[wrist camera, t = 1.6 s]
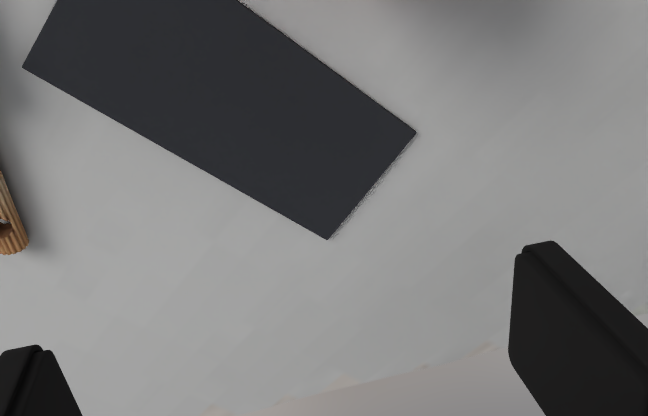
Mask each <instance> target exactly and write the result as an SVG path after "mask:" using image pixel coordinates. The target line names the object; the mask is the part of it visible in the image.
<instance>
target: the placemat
mask: <svg viewBox="0 0 648 416" xmlns="http://www.w3.org/2000/svg"><path fill="white" fill-rule="evenodd" d="M22 68H24V69H25V70H27V71H29V72H31V73H32V74H34V75H36V76H38V77H40V78H41V79H43V80H45V81H47V82H48V83H50V84H52V85H54V86H55V87H57V88H59V89H61V90H62V91H64V92H66V93H68V94H70V95H71V96H73V97H75V98H77V99H78V100H80V101H82V102H84V103H85V104H87V105H89V106H91V107H93V108H94V109H96V110H98V111H100V112H101V113H103V114H105V115H107V116H108V117H110V118H112V119H114V120H116V121H117V122H119V123H121V124H123V125H124V126H126V127H128V128H130V129H131V130H133V131H135V132H137V133H139V134H140V135H142V136H144V137H146V138H147V139H149V140H151V141H153V142H154V143H156V144H158V145H160V146H162V147H163V148H165V149H167V150H169V151H170V152H172V153H174V154H176V155H177V156H179V157H181V158H183V159H185V160H186V161H188V162H190V163H192V164H193V165H195V166H197V167H199V168H200V169H202V170H204V171H206V172H208V173H209V174H211V175H213V176H215V177H216V178H218V179H220V180H222V181H223V182H225V183H227V184H229V185H231V186H232V187H234V188H236V189H238V190H239V191H241V192H243V193H245V194H246V195H248V196H250V197H252V198H253V199H255V200H257V201H259V202H261V203H262V204H264V205H266V206H268V207H269V208H271V209H273V210H275V211H276V212H278V213H280V214H282V215H284V216H285V217H287V218H289V219H291V220H292V221H294V222H296V223H298V224H299V225H301V226H303V227H305V228H307V229H308V230H310V231H312V232H314V233H315V234H317V235H319V236H321V237H322V238H324V239H326V240H328V239H329V238H330V236H331V235H332V234H333V233H334V232H335V230H336V229H337V228H338V227H339V226H340V224H341V223H342V222H343V221H344V220H345V218H346V217H347V216H348V215H349V214H350V212H351V211H352V210H353V209H354V208H355V206H356V205H357V204H358V203H359V202H360V200H361V199H362V198H363V197H364V196H365V194H366V193H367V192H368V191H369V190H370V188H371V187H372V186H373V185H374V184H375V182H376V181H377V180H378V179H379V178H380V176H381V175H382V174H383V173H384V171H385V170H386V169H387V168H388V167H389V165H390V164H391V163H392V162H393V161H394V159H395V158H396V157H397V156H398V155H399V153H400V152H401V151H402V150H403V149H404V147H405V146H406V145H407V144H408V143H409V141H410V140H411V139H412V138H413V137H414V135H415V134H416V131H415V130H414V129H412V128H411V127H409V126H408V125H407V124H405V123H404V122H403V121H401V120H400V119H399V118H397V117H396V116H394V115H393V114H392V113H390V112H389V111H388V110H386V109H385V108H384V107H382V106H381V105H379V104H378V103H377V102H375V101H374V100H373V99H371V98H370V97H369V96H367V95H366V94H364V93H363V92H362V91H360V90H359V89H358V88H356V87H355V86H354V85H352V84H351V83H349V82H348V81H347V80H345V79H344V78H343V77H341V76H340V75H339V74H337V73H336V72H334V71H333V70H332V69H330V68H329V67H328V66H326V65H325V64H324V63H322V62H321V61H319V60H318V59H317V58H315V57H314V56H313V55H311V54H310V53H309V52H307V51H306V50H304V49H303V48H302V47H300V46H299V45H298V44H296V43H295V42H294V41H292V40H291V39H289V38H288V37H287V36H285V35H284V34H283V33H281V32H280V31H279V30H277V29H276V28H274V27H273V26H272V25H270V24H269V23H268V22H266V21H265V20H264V19H262V18H261V17H259V16H258V15H257V14H255V13H254V12H253V11H251V10H250V9H249V8H247V7H246V6H244V5H243V4H242V3H240V2H239V1H238V0H57V2H56V4H55V6H54V8H53V9H52V11H51V13H50V15H49V17H48V19H47V21H46V23H45V24H44V26H43V28H42V30H41V32H40V34H39V36H38V38H37V40H36V41H35V43H34V45H33V47H32V49H31V51H30V53H29V55H28V56H27V58H26V60H25V62H24V64H23V66H22Z"/></svg>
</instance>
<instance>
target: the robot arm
mask: <svg viewBox="0 0 648 416" xmlns="http://www.w3.org/2000/svg"><path fill="white" fill-rule="evenodd" d="M508 353H509V357H510V361H511V364H512V366H513V367H514V369H515V371H516V372H517V374H518V375H519V377H520V378H521V379H522V381H523V382H524V384H525V385H526V387H527V388H528V390H529V391H530V393H531V394H532V396H533V397H534V399H535V400H536V402H537V403H538V405H539V406H540V408H541V409H542V410H543V412H544V414H545V415H546V416H648V328H646V327H645V326H644V325H643V324H642V323H641V322H640V321H639V320H638V319H637V318H636V317H635V316H634V315H633V314H632V313H631V312H630V311H628V310H627V309H626V308H625V307H624V306H623V305H622V304H621V303H620V302H619V301H618V300H617V299H616V298H615V297H613V296H612V295H611V294H610V293H609V292H608V291H607V290H606V289H605V288H604V287H603V286H602V285H601V284H600V283H599V282H598V281H596V280H595V279H594V278H593V277H592V276H591V275H590V274H589V273H588V272H587V271H586V270H585V269H584V268H583V267H582V266H581V265H579V264H578V263H577V262H576V261H575V260H574V259H573V258H572V257H571V256H570V255H569V254H568V253H567V252H566V251H565V250H564V249H562V248H561V247H560V246H559V245H558V244H557V243H556V242H554V241H546V242H541V243H536V244H531V245H526V246H525V247H524V248H523V249H522V253H521V254H518V255H517V256H516V257H515V265H514V278H513V292H512V305H511V319H510V333H509V346H508ZM0 416H82V414H81V412H80V409H79V407H78V405H77V403H76V401H75V399H74V397H73V394H72V392H71V390H70V388H69V386H68V384H67V382H66V379H65V377H64V375H63V373H62V371H61V369H60V367H59V364H58V362H57V360H56V358H55V356H54V354H53V352H52V351H50V350H45V351H43V349H42V348H41V347H40V346H39V345H31V346H26V347H21V348H16V349H11V350H6V351H4V352H3V353H2V354H1V356H0Z"/></svg>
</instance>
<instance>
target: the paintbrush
mask: <svg viewBox="0 0 648 416" xmlns="http://www.w3.org/2000/svg"><path fill="white" fill-rule="evenodd" d="M0 219H3V220H5V221H7V222H8V220H9V221H10V222H11V224H9V223H6V224H3V223H1V222H0V254H3V255H6V254H7V255H10V254H16V253H17V252H21V251H22V250H23V249H25V248H26V246H28V243H29V240H28V237H27V235H26V232H25V230H24V228H23V225H22V223H21V220H20V218H19V216H18V213H17V211H16V208H15V206H14V203H13V201H12V198H11V195H10V193H9V190H8V188H7V185H6V183H5V180H4V178H3V175H2V173H1V170H0Z"/></svg>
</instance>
